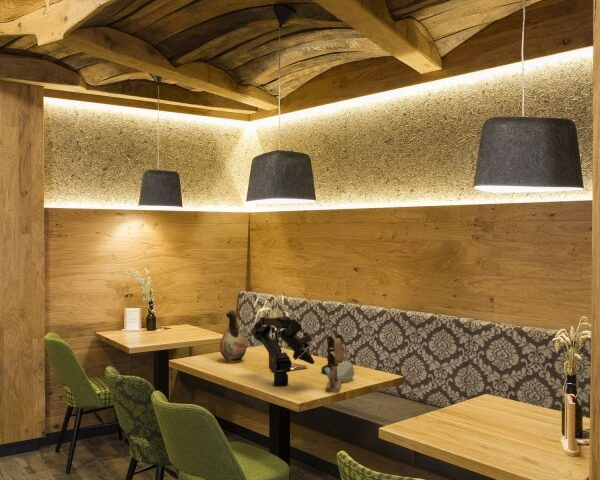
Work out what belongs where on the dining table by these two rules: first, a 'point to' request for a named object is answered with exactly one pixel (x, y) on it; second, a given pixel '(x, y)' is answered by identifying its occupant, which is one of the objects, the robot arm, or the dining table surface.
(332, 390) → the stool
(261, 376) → the dining table surface
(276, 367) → the robot arm
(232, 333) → the ceramic jug
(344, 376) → the decorative stone
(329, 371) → the hinged leg
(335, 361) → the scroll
